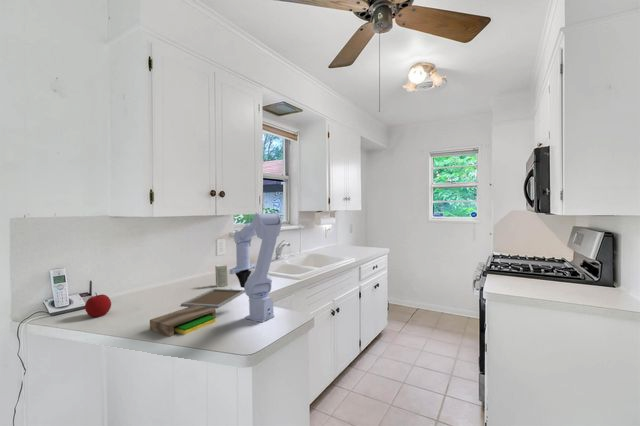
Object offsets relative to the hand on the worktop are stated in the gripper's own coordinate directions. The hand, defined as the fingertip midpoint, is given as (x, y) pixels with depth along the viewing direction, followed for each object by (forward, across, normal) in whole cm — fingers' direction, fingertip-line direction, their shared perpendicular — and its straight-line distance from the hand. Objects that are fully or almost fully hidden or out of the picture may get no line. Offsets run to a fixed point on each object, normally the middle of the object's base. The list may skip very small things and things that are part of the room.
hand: (243, 287), depth 133 cm
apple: (+10, +36, -49) cm, 62 cm away
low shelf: (+9, +25, -7) cm, 28 cm away
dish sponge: (+10, +25, -1) cm, 27 cm away
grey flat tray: (+10, -6, -24) cm, 27 cm away
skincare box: (+10, -24, -41) cm, 48 cm away
